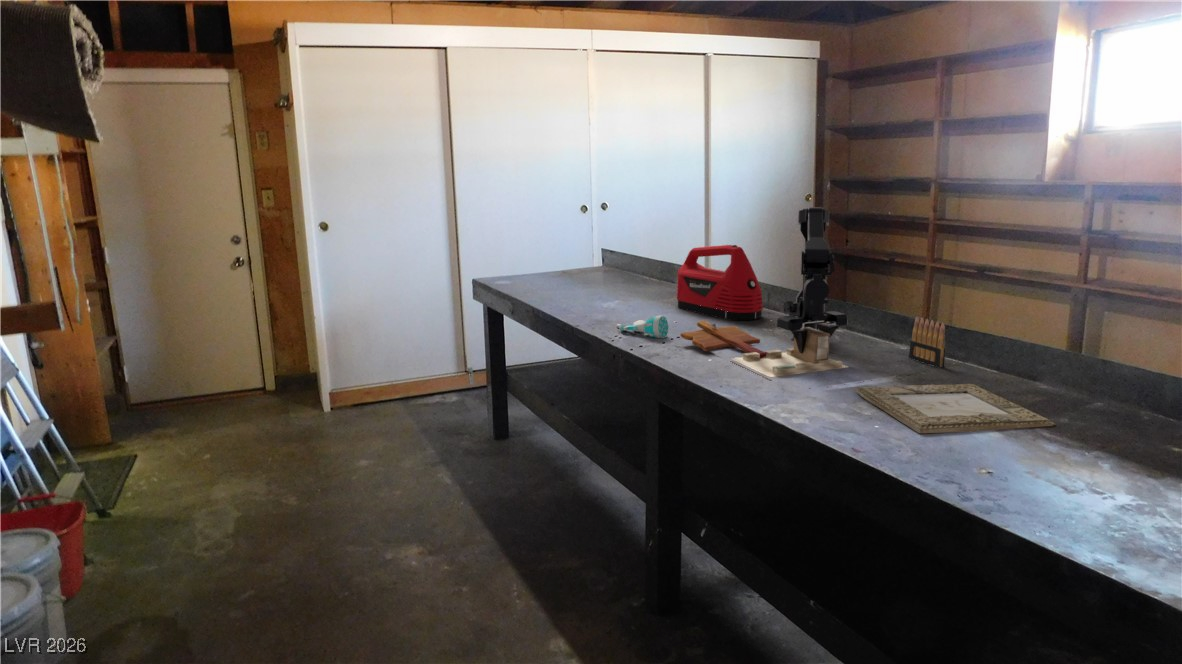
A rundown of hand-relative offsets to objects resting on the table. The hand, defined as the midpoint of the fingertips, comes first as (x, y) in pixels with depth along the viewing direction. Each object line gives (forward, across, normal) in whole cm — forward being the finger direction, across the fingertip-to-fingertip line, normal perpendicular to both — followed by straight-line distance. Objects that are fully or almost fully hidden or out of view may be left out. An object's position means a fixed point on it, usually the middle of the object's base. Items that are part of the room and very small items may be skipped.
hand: (810, 352), depth 196 cm
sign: (+3, +12, -22) cm, 25 cm away
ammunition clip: (+4, -29, +11) cm, 31 cm away
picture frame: (+4, -5, +42) cm, 42 cm away
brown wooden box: (+2, 0, 0) cm, 2 cm away
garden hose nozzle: (+4, +26, -52) cm, 58 cm away
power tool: (+4, -13, -73) cm, 74 cm away
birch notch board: (+3, +7, 0) cm, 8 cm away
